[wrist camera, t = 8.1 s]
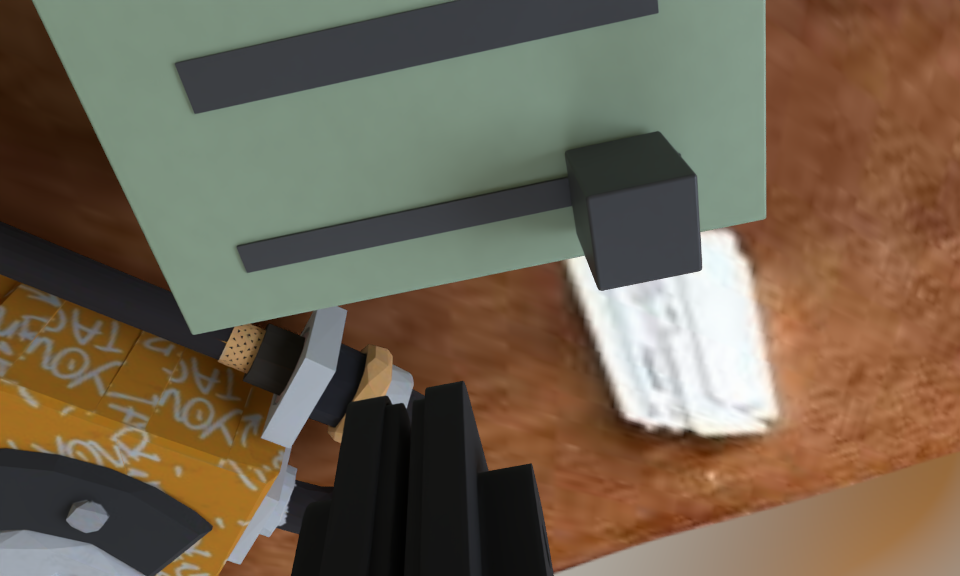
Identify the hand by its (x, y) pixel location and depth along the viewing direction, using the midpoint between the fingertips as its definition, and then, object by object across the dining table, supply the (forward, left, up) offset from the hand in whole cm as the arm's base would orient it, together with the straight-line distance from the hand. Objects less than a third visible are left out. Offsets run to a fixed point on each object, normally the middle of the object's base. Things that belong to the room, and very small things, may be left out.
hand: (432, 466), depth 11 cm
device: (+10, -19, -21) cm, 30 cm away
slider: (0, +5, -9) cm, 10 cm away
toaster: (-4, +1, -20) cm, 21 cm away
